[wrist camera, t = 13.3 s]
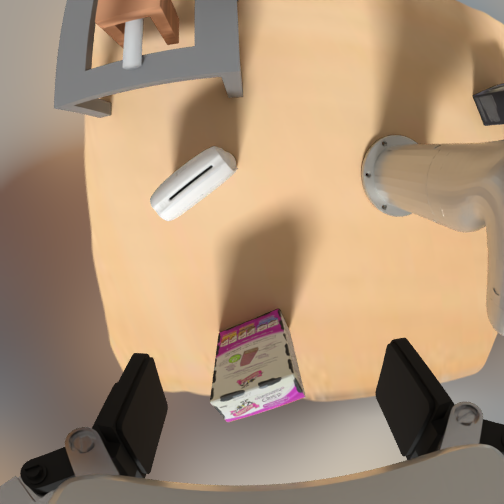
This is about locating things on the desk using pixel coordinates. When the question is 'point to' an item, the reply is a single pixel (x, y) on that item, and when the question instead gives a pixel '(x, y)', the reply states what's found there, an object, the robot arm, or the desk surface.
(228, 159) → the photo printer
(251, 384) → the candy bar box
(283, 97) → the desk surface
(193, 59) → the grey square frame
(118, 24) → the u-shaped wooden block
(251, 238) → the desk surface
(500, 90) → the small box
